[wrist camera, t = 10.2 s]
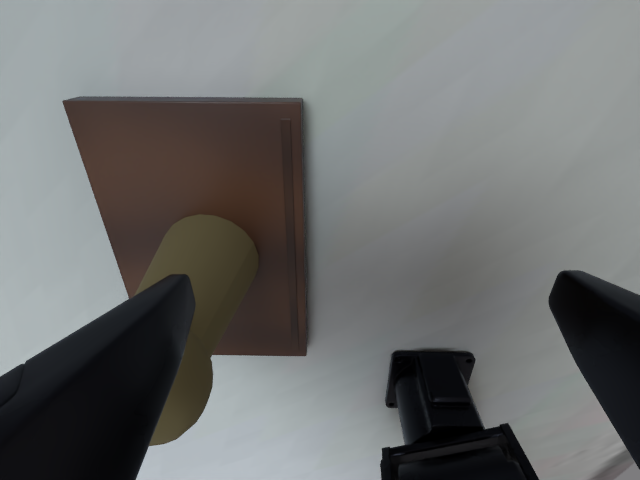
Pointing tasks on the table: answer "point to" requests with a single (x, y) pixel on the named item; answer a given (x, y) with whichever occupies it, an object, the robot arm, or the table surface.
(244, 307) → the walnut board
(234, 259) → the olive yellow pawn
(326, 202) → the table surface
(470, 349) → the table surface
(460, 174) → the table surface
